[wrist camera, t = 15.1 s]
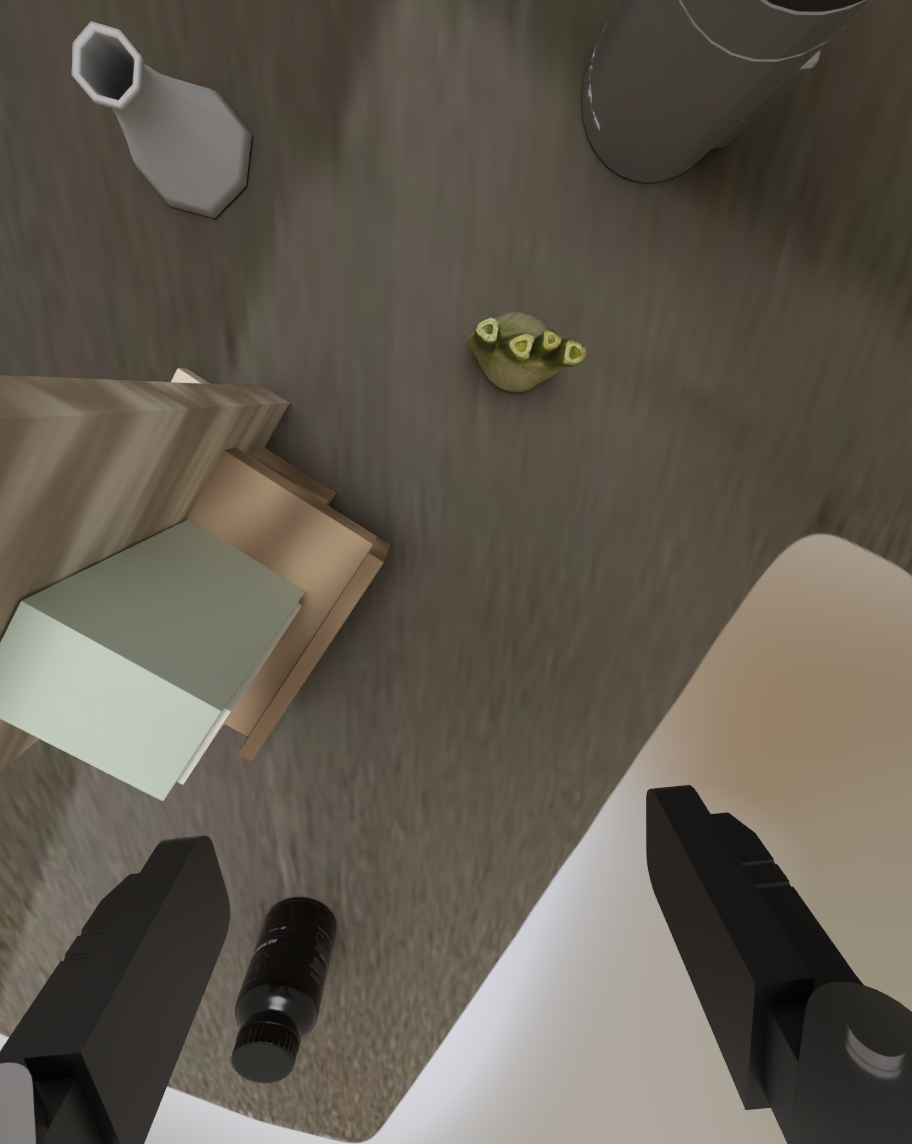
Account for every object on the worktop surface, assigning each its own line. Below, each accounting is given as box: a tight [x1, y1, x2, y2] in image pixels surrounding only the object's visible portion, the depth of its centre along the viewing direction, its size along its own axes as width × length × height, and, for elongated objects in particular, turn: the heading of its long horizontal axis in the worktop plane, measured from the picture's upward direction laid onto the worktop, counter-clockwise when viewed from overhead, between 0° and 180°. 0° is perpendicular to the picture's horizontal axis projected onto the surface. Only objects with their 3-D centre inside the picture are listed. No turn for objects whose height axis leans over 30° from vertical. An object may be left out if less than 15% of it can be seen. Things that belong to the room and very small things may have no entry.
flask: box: [72, 22, 252, 218], centre depth 31 cm, size 7×7×10 cm
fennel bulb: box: [468, 312, 587, 393], centre depth 34 cm, size 6×5×12 cm
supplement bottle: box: [231, 899, 336, 1084], centre depth 49 cm, size 7×7×12 cm
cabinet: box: [0, 519, 306, 801], centre depth 28 cm, size 8×5×14 cm, turn 55°
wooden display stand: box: [0, 368, 390, 772], centre depth 29 cm, size 18×22×30 cm
